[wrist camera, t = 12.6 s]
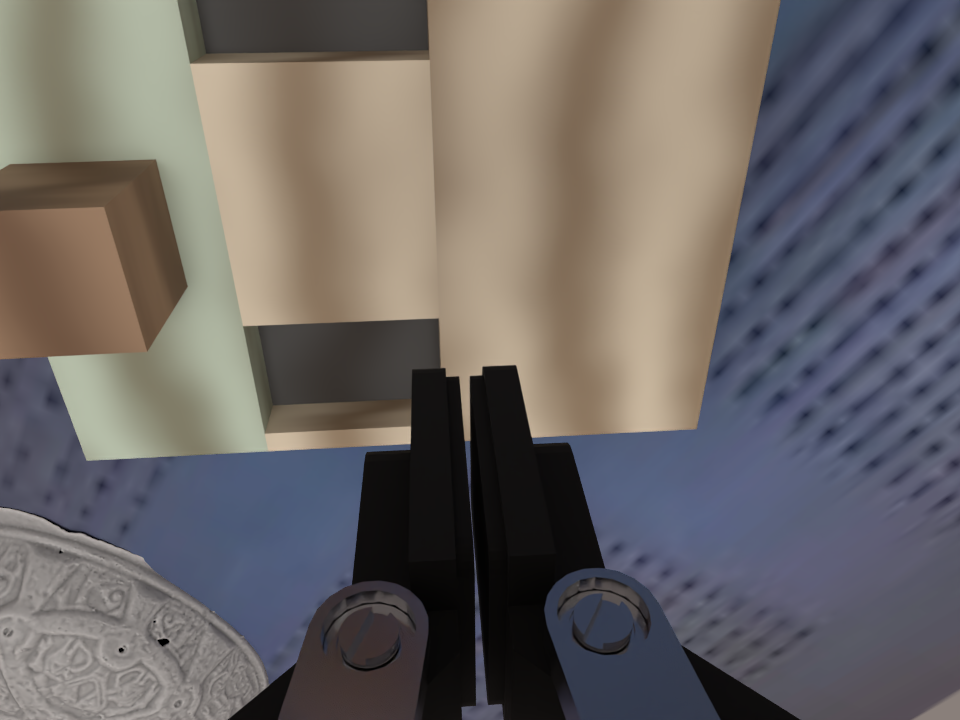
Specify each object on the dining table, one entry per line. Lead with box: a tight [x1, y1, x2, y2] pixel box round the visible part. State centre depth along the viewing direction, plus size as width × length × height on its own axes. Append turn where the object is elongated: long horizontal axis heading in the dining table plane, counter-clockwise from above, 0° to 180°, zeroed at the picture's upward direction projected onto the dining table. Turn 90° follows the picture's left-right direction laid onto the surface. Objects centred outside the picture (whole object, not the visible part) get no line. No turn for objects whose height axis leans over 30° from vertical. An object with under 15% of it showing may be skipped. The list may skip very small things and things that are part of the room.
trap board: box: [0, 0, 781, 461], centre depth 28 cm, size 28×23×2 cm
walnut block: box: [0, 159, 188, 359], centre depth 24 cm, size 5×5×5 cm
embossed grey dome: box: [0, 507, 270, 720], centre depth 40 cm, size 16×25×7 cm, turn 41°
